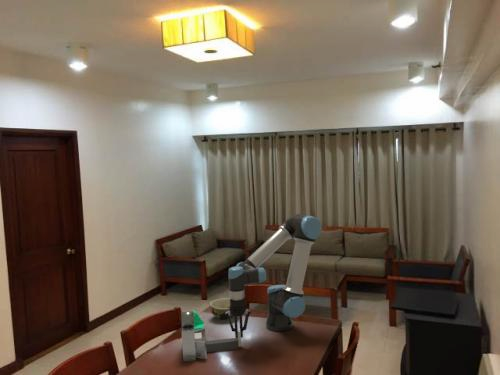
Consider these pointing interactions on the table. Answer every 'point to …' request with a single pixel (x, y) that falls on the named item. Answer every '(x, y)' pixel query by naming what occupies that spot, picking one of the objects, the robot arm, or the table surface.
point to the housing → (192, 338)
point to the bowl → (220, 307)
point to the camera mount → (198, 321)
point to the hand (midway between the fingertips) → (239, 343)
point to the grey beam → (219, 343)
